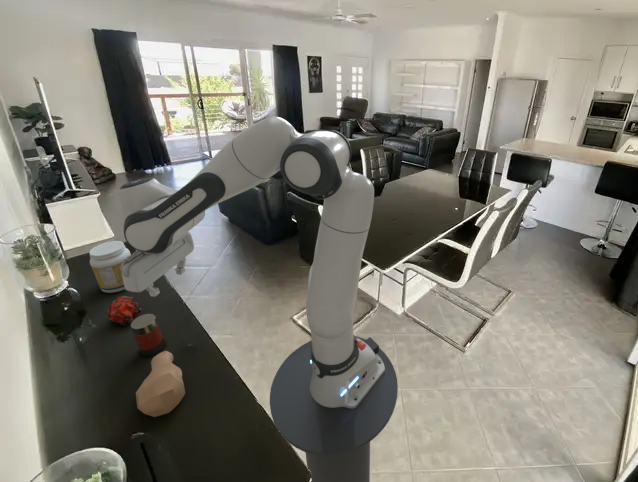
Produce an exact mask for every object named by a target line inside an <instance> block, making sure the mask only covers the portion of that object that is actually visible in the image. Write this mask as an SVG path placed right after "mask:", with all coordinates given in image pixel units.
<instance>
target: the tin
mask: <svg viewBox="0 0 638 482" xmlns="http://www.w3.org/2000/svg"><path fill="white" fill-rule="evenodd" d="M130 328H131V330H132V333H133V336H134V339H135V341H136V344H137V346H138V349H139V352H140V354H141V355H142V356H143V357H151V356H153V355H157V354H159V353H160V352H161V350H163V348H164V346H165V342H164V340H163V339H164V338H163V335H162V332H161V330H160V327H159V324H158V321H157V318H156V315H154V314H153V313H144V314H142V315H139V316H137V317H135V318H134V319H133V320H132V321H131V322H130Z"/></svg>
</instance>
